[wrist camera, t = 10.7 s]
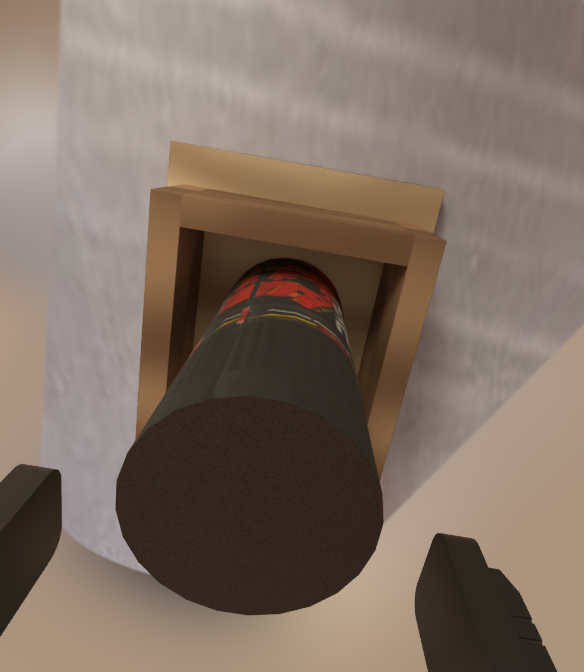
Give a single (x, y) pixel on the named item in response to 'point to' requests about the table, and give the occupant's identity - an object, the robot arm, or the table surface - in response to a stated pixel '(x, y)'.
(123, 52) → the table surface
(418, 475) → the table surface
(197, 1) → the table surface
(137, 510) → the deodorant
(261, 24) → the table surface
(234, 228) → the holder
